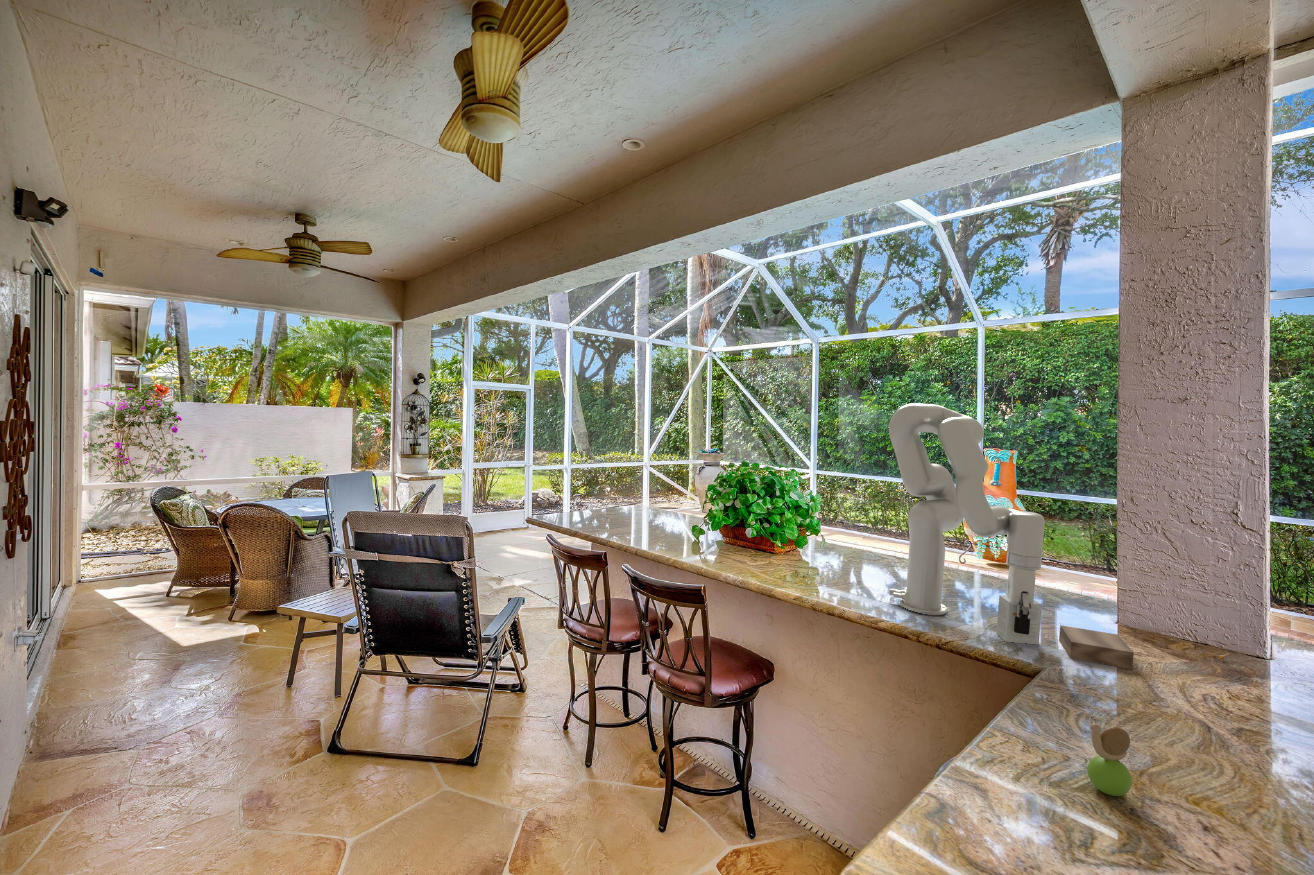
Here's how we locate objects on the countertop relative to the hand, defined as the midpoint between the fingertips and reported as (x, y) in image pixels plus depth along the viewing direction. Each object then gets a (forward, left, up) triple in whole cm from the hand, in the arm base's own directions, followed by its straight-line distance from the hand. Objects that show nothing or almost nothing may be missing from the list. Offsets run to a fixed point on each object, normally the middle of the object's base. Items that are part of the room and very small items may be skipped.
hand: (1018, 627), depth 151 cm
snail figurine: (+3, -65, -3) cm, 65 cm away
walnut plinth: (+16, -1, -3) cm, 16 cm away
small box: (0, 0, -4) cm, 4 cm away
